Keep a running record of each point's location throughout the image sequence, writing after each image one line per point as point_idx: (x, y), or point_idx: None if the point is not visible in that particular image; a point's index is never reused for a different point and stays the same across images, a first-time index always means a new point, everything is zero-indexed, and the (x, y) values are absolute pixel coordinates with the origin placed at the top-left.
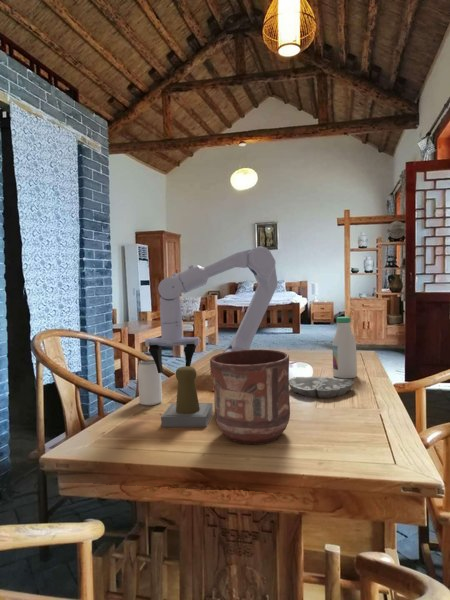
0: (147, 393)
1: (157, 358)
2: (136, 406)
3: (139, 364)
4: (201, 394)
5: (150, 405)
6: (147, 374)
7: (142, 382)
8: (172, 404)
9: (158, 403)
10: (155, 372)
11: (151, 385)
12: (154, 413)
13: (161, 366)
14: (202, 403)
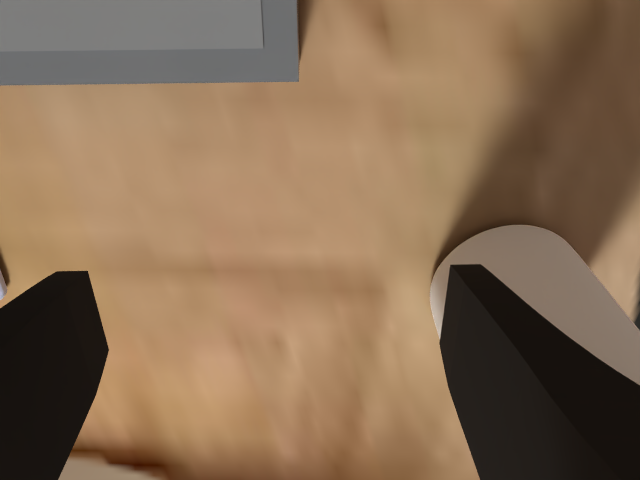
0: (545, 267)
1: (566, 395)
2: (595, 211)
3: None
4: (210, 420)
5: (497, 227)
6: None
7: (627, 333)
8: (282, 49)
9: (446, 260)
10: None
11: None
12: (438, 47)
13: (461, 375)
14: (16, 74)
